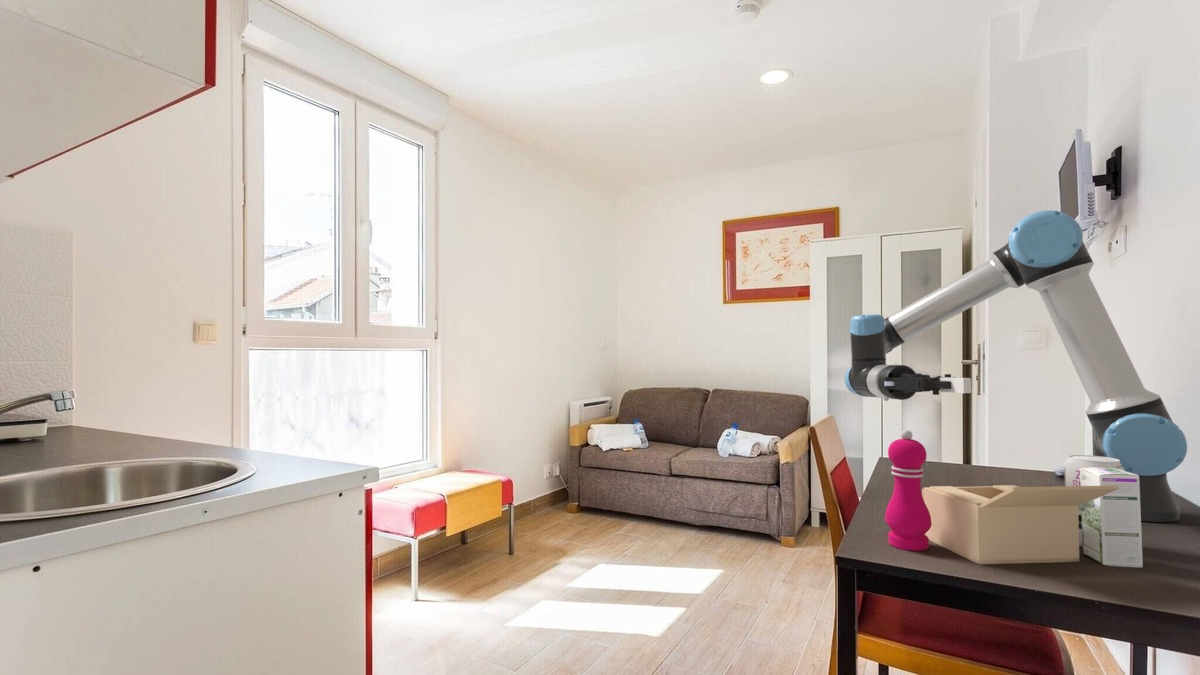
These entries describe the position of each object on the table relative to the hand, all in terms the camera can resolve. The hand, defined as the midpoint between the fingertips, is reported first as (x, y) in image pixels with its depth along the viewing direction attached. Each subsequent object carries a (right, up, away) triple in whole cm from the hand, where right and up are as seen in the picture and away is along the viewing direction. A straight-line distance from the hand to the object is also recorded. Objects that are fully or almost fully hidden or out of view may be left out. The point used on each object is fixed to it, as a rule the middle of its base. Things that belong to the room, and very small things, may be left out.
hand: (967, 385), depth 110 cm
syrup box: (+15, -27, -13) cm, 34 cm away
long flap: (+1, -18, -14) cm, 23 cm away
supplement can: (+20, -28, -5) cm, 34 cm away
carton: (+1, -27, -7) cm, 28 cm away
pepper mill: (-13, -28, -5) cm, 31 cm away
